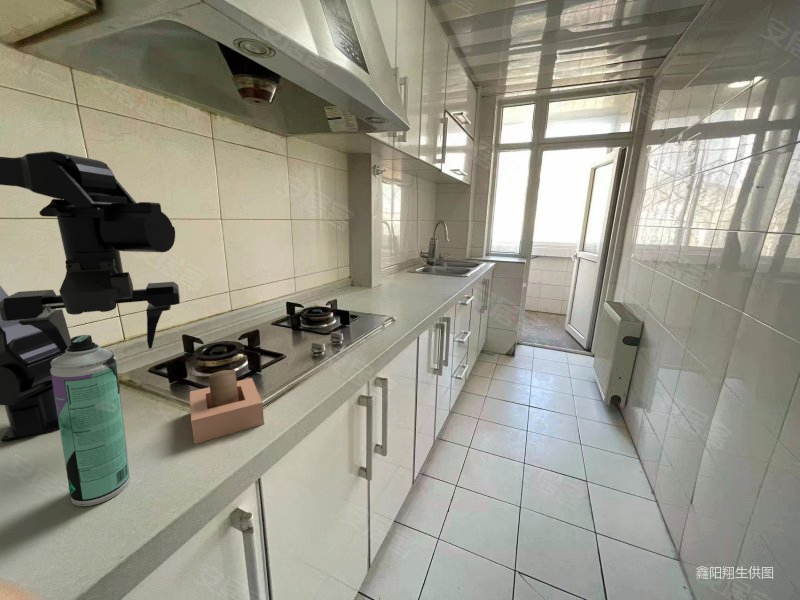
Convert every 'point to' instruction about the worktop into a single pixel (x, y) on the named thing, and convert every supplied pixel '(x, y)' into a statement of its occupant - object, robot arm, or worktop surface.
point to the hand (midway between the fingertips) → (113, 353)
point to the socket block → (225, 412)
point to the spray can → (90, 421)
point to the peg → (223, 388)
